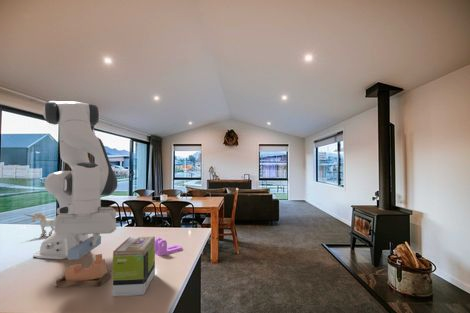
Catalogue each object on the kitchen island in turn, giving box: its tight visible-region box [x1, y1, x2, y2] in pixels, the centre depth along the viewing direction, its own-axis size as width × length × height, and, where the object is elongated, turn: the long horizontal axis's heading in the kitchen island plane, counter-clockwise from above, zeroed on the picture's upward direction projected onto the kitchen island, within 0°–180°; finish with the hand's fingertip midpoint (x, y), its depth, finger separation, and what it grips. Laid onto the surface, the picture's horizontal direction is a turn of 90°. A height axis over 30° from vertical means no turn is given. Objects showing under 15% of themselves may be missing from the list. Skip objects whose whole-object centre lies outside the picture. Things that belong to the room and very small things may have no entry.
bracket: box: [155, 237, 183, 257], centre depth 117 cm, size 13×6×7 cm, turn 133°
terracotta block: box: [64, 253, 108, 281], centre depth 86 cm, size 12×4×8 cm, turn 94°
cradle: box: [55, 270, 112, 288], centre depth 86 cm, size 15×8×2 cm, turn 93°
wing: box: [67, 235, 102, 260], centre depth 86 cm, size 16×4×3 cm, turn 6°
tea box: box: [112, 236, 156, 297], centre depth 84 cm, size 15×10×15 cm, turn 5°
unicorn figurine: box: [23, 212, 56, 237], centre depth 142 cm, size 7×20×13 cm, turn 100°
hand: (85, 245), depth 86 cm, fingers closed on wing, 4 cm apart
